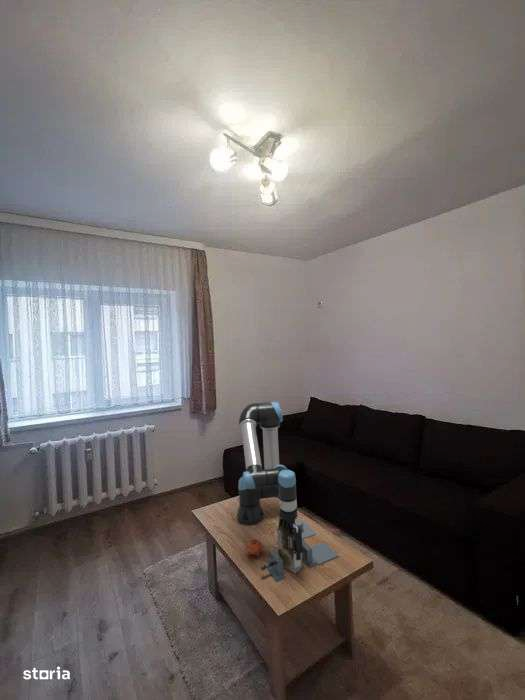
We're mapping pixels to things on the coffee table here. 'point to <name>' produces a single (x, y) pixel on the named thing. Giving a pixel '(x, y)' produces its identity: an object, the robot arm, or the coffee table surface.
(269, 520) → the coffee table surface
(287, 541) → the coffee box
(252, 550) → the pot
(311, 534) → the shower valve
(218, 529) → the coffee table surface
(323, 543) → the pad
